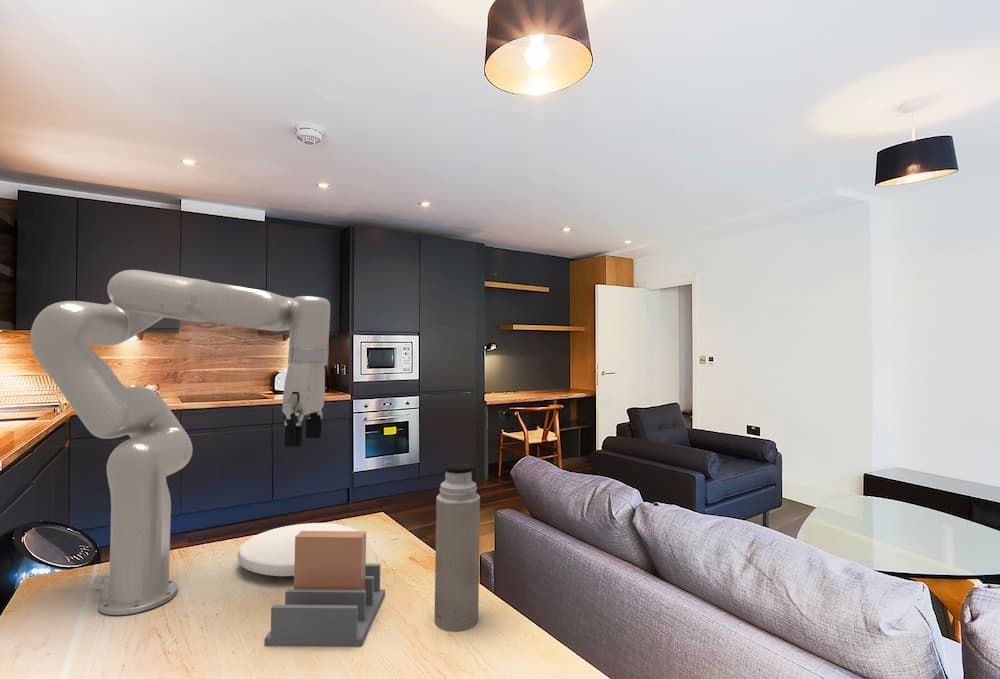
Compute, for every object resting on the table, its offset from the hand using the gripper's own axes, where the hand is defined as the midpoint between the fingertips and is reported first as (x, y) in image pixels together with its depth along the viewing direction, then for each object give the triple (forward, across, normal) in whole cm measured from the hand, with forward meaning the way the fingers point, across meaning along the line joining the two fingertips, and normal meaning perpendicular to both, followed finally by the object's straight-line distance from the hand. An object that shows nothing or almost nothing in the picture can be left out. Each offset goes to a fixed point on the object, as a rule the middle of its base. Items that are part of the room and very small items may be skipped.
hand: (303, 442), depth 102 cm
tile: (+29, +9, +10) cm, 32 cm away
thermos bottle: (+29, +8, +33) cm, 45 cm away
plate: (+31, -16, -5) cm, 35 cm away
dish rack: (+30, +9, +10) cm, 33 cm away
